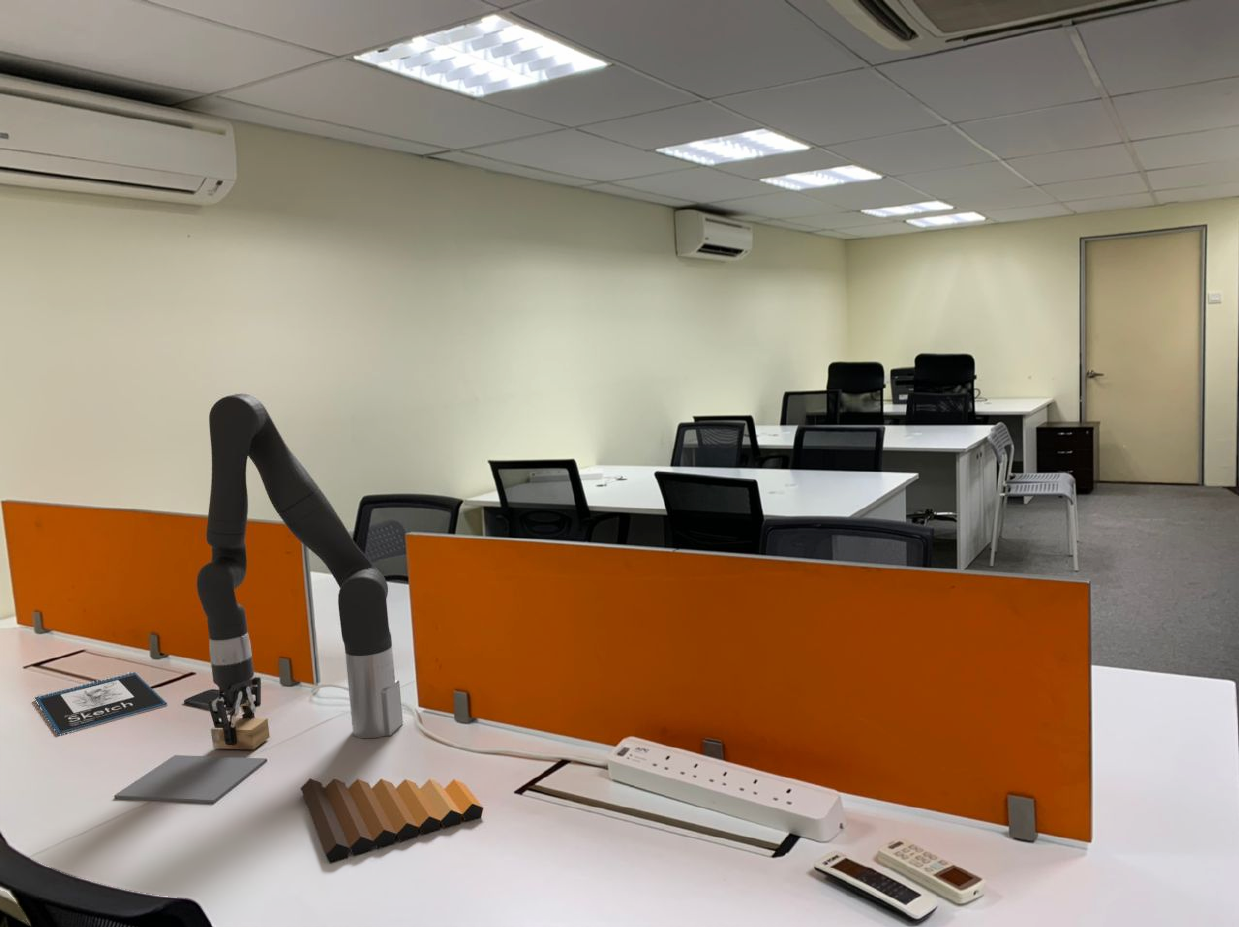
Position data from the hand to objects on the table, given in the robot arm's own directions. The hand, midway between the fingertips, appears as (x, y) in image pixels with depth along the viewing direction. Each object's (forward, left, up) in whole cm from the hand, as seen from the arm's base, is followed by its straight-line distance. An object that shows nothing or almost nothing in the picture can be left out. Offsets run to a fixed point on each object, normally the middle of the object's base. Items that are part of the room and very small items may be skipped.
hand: (241, 737), depth 178 cm
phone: (+20, -21, -2) cm, 29 cm away
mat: (0, +15, -2) cm, 15 cm away
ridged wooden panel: (-42, +21, -2) cm, 47 cm away
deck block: (0, 0, -1) cm, 1 cm away
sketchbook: (+50, -19, -2) cm, 53 cm away
